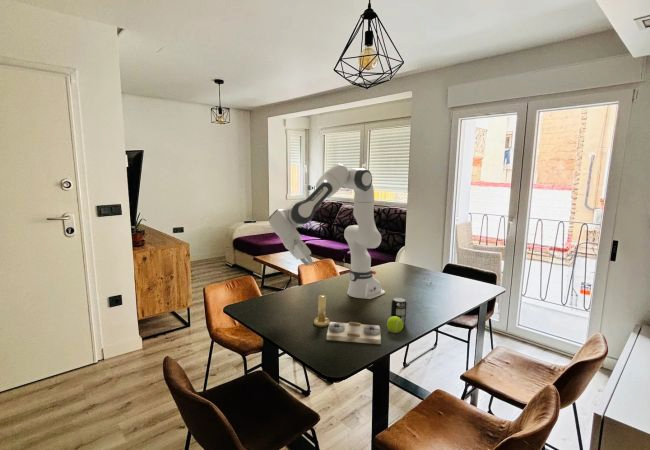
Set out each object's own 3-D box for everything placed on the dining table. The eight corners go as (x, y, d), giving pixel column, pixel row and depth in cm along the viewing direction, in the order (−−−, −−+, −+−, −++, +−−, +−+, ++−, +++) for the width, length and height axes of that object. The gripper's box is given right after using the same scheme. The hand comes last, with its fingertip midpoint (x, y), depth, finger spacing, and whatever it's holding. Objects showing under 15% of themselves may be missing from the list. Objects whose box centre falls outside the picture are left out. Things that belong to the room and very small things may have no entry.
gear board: (379, 329, 150) (379, 321, 150) (380, 344, 138) (381, 335, 137) (329, 326, 153) (329, 318, 152) (326, 339, 140) (326, 331, 139)
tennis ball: (383, 331, 149) (384, 316, 148) (392, 327, 154) (393, 312, 153) (396, 337, 144) (397, 321, 143) (405, 332, 149) (406, 317, 148)
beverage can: (394, 320, 161) (396, 295, 160) (407, 324, 157) (409, 299, 155) (387, 324, 156) (389, 299, 154) (400, 328, 152) (402, 303, 150)
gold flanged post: (323, 319, 160) (324, 292, 158) (332, 324, 154) (333, 297, 152) (311, 322, 156) (311, 295, 154) (319, 328, 150) (320, 300, 148)
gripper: (302, 234, 152) (320, 259, 152) (293, 239, 171) (309, 261, 172) (291, 242, 150) (309, 268, 150) (283, 246, 169) (300, 269, 170)
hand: (309, 264), depth 161 cm, fingers open, 8 cm apart
